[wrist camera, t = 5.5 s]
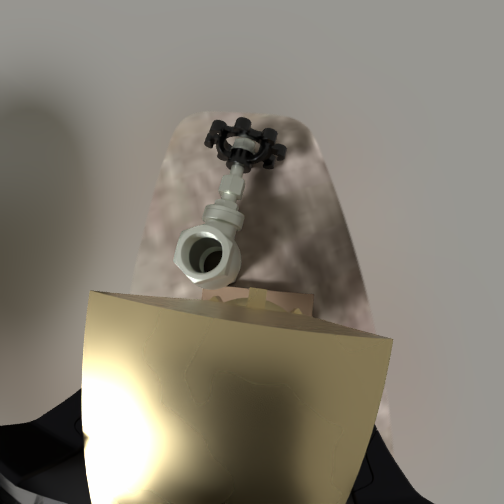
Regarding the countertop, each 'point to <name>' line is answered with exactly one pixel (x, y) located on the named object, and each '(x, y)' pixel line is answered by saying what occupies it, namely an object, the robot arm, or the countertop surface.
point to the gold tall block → (224, 401)
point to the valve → (225, 204)
